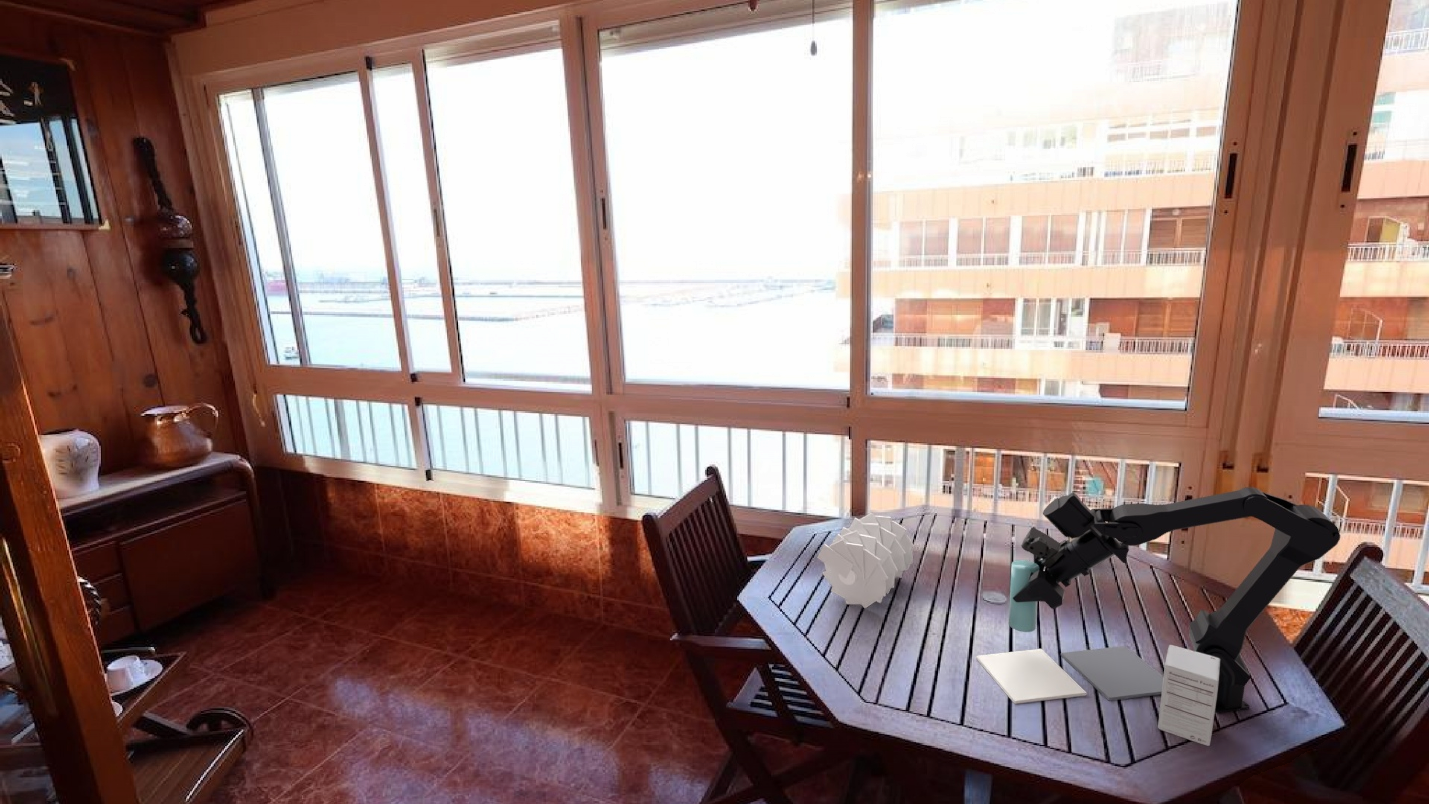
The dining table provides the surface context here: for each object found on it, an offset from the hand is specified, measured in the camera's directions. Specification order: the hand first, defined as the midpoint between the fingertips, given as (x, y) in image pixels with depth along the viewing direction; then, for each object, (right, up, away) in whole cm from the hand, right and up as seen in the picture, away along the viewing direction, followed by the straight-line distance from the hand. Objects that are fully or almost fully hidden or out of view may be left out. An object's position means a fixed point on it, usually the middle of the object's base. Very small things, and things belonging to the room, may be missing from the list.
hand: (1016, 593), depth 132 cm
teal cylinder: (+2, -7, +1) cm, 7 cm away
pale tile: (0, -15, -4) cm, 15 cm away
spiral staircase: (-23, -8, +31) cm, 39 cm away
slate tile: (+17, -14, -5) cm, 23 cm away
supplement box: (+20, -17, -19) cm, 33 cm away
